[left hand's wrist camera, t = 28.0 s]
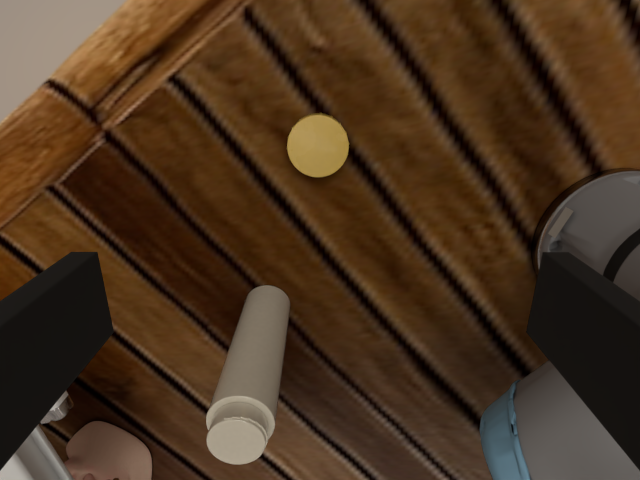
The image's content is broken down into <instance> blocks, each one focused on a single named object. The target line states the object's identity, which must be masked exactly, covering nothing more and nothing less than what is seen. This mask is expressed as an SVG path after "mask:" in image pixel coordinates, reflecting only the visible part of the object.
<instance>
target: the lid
mask: <svg viewBox="0 0 640 480" xmlns="http://www.w3.org/2000/svg"><path fill="white" fill-rule="evenodd" d="M292 128H293V129H292V130H291V132H290V135H289V136H288V142H287V150H288V155H289V158H290V160H291V162H292V164H293V165H294V166H295V167H296V168H297V169H298V170H299V171H300V172H302V173H303V174H305V175H308V176H311V177H325V176H328V175H331V174H333V173H334V172H336V171H337V170H338V169H339V168H340V167H341V166H342V165H343V164H344V162H345V160H346V158H347V155H348V150H349V142H348V138H347V135H346V134H347V132H346V131H345V130H344V128H343V127H342V125H341V123H340V122H338V121H337V120H336V119H334V118H333V117H332V116H329V115H326V114H322V113H320V114H319V113H317V114H310V115H307V116H305V117H303V118H302V119H301V118H300V120H299V121H298V122H297V123H296V124H295V125H294V126H293V127H292Z"/></svg>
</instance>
